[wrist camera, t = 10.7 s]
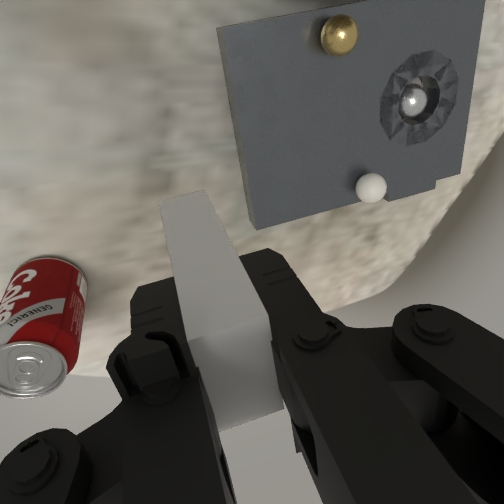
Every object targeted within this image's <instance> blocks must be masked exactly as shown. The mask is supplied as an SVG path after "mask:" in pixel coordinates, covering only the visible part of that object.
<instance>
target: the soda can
mask: <svg viewBox="0 0 504 504" xmlns="http://www.w3.org/2000/svg"><path fill="white" fill-rule="evenodd" d="M86 296H87V282H86V279H85V277H84V275H83V274H82V272H81V271H80V270H79V269H78V268H77V267H75V266H74V265H72V264H71V263H69V262H66V261H64V260H61V259H56V258H39V259H34V260H31V261H28V262H26V263H25V264H23V265H22V266H20V267H19V268H18V269H17V270H16V271H15V273H14V274H13V276H12V278H11V280H10V282H9V285H8V287H7V289H6V291H5V293H4V296H3V298H2V300H1V302H0V395H3V396H6V397H10V398H16V399H30V398H37V397H41V396H44V395H46V394H49V393H51V392H52V391H54V390H55V389H57V388H58V387H59V386H60V385H61V384H62V383H63V381H64V379H65V377H66V375H67V374H68V373H69V372H70V371H71V370H72V369H73V368H74V366H75V364H76V362H77V359H78V354H79V346H80V339H81V332H82V325H83V318H84V310H85V303H86Z"/></svg>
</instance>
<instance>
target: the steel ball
mask: <svg viewBox="0 0 504 504" xmlns="http://www.w3.org/2000/svg"><path fill="white" fill-rule="evenodd" d="M427 100H428V97H427V93H426V91H425V89H424V88H423V87H422V86H420V85H418V84H407V85H406V86H405V88H404V90H403V92H402V94H401V96H400V98H399V111H398V112H399V114H400V116H401V117H402V118H414V117H416V116H418V115H419V114H420V113H422V112H423V110H424V109H425V107H426V105H427Z"/></svg>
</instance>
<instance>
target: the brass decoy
mask: <svg viewBox="0 0 504 504" xmlns="http://www.w3.org/2000/svg"><path fill="white" fill-rule="evenodd" d="M358 39H359V28H358V25H357V23H356V21H355V20H354V19H353V18H352V17H350V16H348V15H345V14H339V15H335V16H333V17H331V18H330V19H329V20H328V21H327V22H326V23H325V25H324V26H323V29H322V32H321V44H322V47H323V49H324V50H325V52H326V53H328V54H329V55H331V56H333V57H342V56H345V55H347V54H349V53H350V52H351V51H352V50H353V49H354V48H355V46H356V44H357V42H358Z"/></svg>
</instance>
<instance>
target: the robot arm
mask: <svg viewBox="0 0 504 504" xmlns="http://www.w3.org/2000/svg"><path fill="white" fill-rule="evenodd" d="M158 202H159V207H160V211H161V216H162V221H163V226H164V231H165V236H166V241H167V245H168V250H169V255H170V260H171V265H172V270H173V274H174V277H170V278H167V279H164V280H160V281H157V282H153V283H150V284H146V285H143V286H139V287H138V288H137V290H136V291H135V293H134V295H133V297H132V299H131V301H130V314H131V329H132V330H131V335H130V336H128V337H127V338H126V339H124V340H123V341H122V342H120V343H119V344H118V345H117V346H116V348H115V349H114V350H113V352H112V353H111V354H110V356H109V359H108V362H107V366H106V369H107V371H108V373H109V375H110V377H111V379H112V381H113V382H114V384H115V386H116V388H117V390H118V392H119V394H120V396H121V398H122V401H121V403H120V404H119V405H118V406H117V407H116V408H115V409H114V410H113V411H112V412H111V413H110V414H108V415H107V416H105V417H104V418H103V419H101V420H100V421H98V422H97V423H95V424H93V425H92V426H90V427H89V428H87V429H86V430H84V431H82V432H81V433H79V434H78V435H75V434H73V433H72V432H70V431H69V430H67V429H58V428H52V429H49V430H45V431H42V432H39V433H36V434H34V435H33V436H31V437H30V438H28V439H26V440H24V441H23V442H21V443H20V444H19V445H18V446H16V448H14V449H13V450H12V451H11V452H10V453H9V454H8V455H7V456H6V457H5V458H4V459H3V461H2V462H1V464H0V504H237V501H236V497H235V493H234V489H233V485H232V481H231V477H230V473H229V468H228V464H227V460H226V457H225V454H224V451H223V448H222V445H221V441H220V437H219V432H221V431H224V430H227V429H230V428H232V427H235V426H238V425H241V424H243V423H246V422H249V421H252V420H254V419H257V418H260V417H263V416H265V415H268V414H271V413H274V412H277V411H279V410H282V409H284V405H283V400H284V402H285V404H286V407H287V409H288V412H289V414H290V417H291V424H292V430H293V436H294V442H295V447H296V453H298V452H302V454H303V457H304V459H305V462H306V464H307V466H308V469H309V471H310V473H311V476H312V478H313V481H314V483H315V485H316V488H317V490H318V493H319V495H320V497H321V500H322V502H323V504H504V339H502V338H501V337H499V336H497V335H495V334H494V333H492V332H490V331H488V330H487V329H485V328H483V327H482V326H480V325H478V324H476V323H474V322H473V321H471V320H469V319H468V318H466V317H464V316H463V315H461V314H459V313H457V312H455V311H453V310H450V309H448V308H445V307H443V306H438V305H431V304H419V305H412V306H410V307H407V308H404V309H402V310H401V311H400V312H399V313H398V314H397V315H396V316H395V318H394V322H393V326H392V327H379V328H352V327H347V326H345V325H344V324H343V323H342V322H341V321H340V320H339V319H337V318H336V317H333V316H330V315H328V314H325V313H323V312H322V311H321V309H320V308H319V307H318V305H317V304H316V302H315V301H314V299H313V298H312V297H311V295H310V294H309V292H308V291H307V290H306V288H305V287H304V285H303V284H302V283H301V281H300V280H299V278H297V276H296V274H295V273H294V271H293V270H292V268H290V266H289V264H288V263H287V261H286V260H285V258H284V257H283V256H282V255H281V254H279V253H277V252H275V251H273V250H271V249H269V248H266V249H263V250H259V251H256V252H252V253H249V254H245V255H242V256H239V257H238V255H237V253H236V251H235V249H234V247H233V245H232V243H231V241H230V239H229V237H228V235H227V233H226V231H225V229H224V227H223V225H222V223H221V221H220V220H219V218H218V216H217V214H216V212H215V210H214V208H213V206H212V204H211V202H210V200H209V198H208V196H207V194H206V192H205V190H201V191H197V192H193V193H190V194H186V195H182V196H178V197H174V198H170V199H166V200H162V201H158Z"/></svg>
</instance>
